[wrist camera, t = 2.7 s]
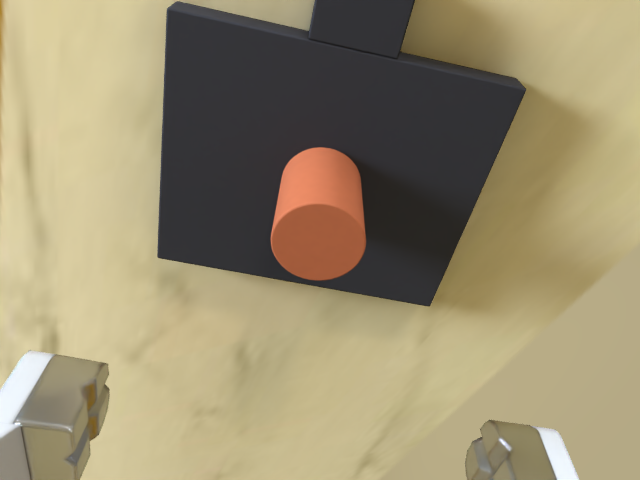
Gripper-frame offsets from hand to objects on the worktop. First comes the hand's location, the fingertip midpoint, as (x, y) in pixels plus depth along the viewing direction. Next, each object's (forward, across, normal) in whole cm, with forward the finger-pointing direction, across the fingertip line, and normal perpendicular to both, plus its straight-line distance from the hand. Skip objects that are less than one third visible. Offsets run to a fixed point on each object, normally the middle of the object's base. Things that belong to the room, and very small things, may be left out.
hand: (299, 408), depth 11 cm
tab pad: (+11, 0, -1) cm, 11 cm away
